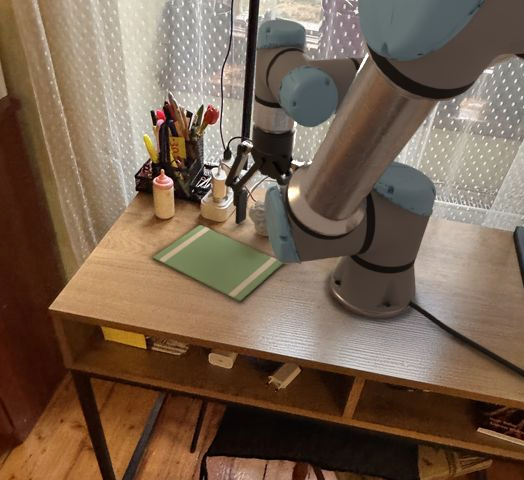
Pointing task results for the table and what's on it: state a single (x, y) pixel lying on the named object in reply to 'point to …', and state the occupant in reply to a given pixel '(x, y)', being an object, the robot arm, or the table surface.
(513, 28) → the robot arm
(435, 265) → the table surface
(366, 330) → the table surface
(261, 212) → the grey lumpy lump
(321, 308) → the table surface
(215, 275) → the tea towel
